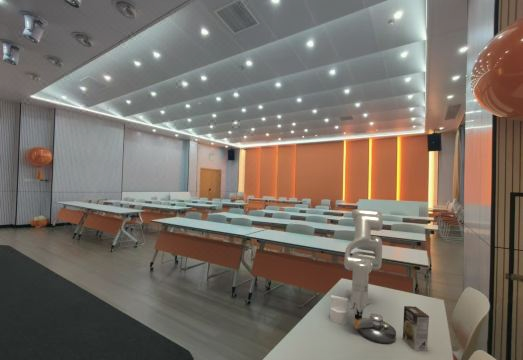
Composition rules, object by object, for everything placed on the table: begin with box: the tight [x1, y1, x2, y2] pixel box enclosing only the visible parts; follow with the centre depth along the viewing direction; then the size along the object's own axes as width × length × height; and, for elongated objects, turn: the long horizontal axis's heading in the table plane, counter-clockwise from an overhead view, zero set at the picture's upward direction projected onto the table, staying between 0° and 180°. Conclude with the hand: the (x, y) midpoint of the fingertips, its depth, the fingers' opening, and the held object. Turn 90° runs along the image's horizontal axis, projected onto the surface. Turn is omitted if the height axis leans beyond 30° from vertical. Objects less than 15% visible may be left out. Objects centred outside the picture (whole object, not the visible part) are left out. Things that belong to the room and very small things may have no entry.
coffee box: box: [402, 305, 430, 352], centre depth 120 cm, size 9×6×16 cm
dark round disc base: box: [356, 320, 397, 344], centre depth 128 cm, size 18×18×4 cm
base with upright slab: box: [329, 294, 349, 325], centre depth 140 cm, size 9×9×12 cm
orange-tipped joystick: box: [353, 312, 384, 330], centre depth 128 cm, size 15×6×5 cm, turn 102°
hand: (358, 322), depth 130 cm, fingers closed
